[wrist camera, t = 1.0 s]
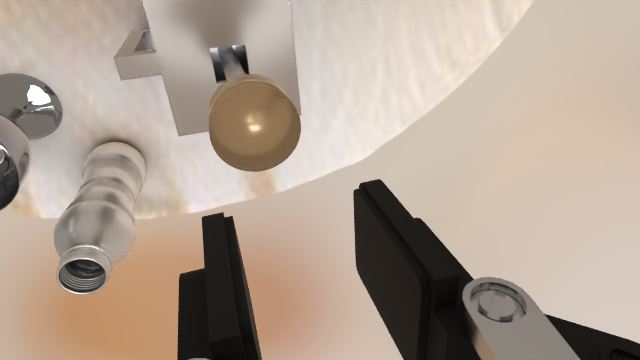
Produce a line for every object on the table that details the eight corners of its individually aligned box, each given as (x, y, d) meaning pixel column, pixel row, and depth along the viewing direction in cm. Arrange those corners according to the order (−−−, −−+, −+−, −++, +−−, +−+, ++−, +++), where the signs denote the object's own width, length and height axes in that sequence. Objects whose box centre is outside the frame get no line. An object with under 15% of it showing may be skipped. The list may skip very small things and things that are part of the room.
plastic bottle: (152, 142, 48) (134, 245, 31) (143, 191, 51) (122, 310, 34) (91, 130, 46) (36, 235, 29) (84, 182, 48) (30, 307, 32)
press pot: (250, -30, 43) (288, -16, 27) (263, 60, 47) (301, 115, 32) (124, -18, 40) (85, 5, 24) (151, 75, 45) (132, 144, 29)
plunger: (259, -8, 33) (330, 35, 17) (271, 79, 37) (338, 184, 21) (167, 2, 32) (147, 59, 15) (188, 92, 35) (191, 215, 19)
